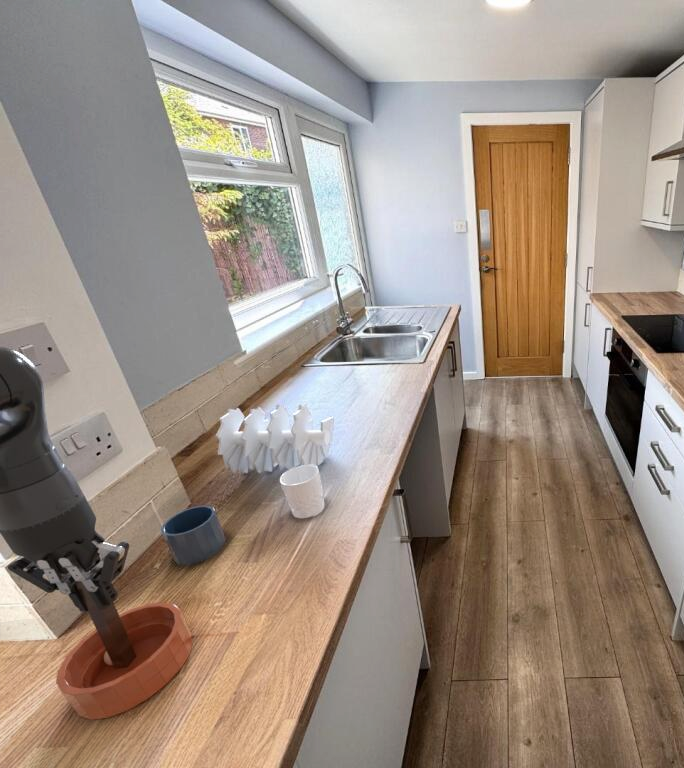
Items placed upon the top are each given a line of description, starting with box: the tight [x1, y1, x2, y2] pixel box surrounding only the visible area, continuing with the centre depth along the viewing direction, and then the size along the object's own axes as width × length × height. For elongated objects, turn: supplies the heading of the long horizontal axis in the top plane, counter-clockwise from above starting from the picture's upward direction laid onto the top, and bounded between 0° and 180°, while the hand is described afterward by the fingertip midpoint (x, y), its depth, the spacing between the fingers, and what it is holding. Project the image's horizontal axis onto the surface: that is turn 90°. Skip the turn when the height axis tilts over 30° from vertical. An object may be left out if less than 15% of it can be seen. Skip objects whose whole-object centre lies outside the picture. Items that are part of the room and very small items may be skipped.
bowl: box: [55, 601, 194, 720], centre depth 60 cm, size 14×14×6 cm
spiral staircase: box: [214, 404, 335, 474], centre depth 108 cm, size 18×18×25 cm
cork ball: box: [104, 651, 113, 665], centre depth 62 cm, size 3×3×3 cm
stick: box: [75, 573, 137, 669], centre depth 58 cm, size 2×2×16 cm
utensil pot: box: [160, 505, 227, 566], centre depth 82 cm, size 9×9×8 cm
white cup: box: [279, 464, 325, 519], centre depth 92 cm, size 8×8×10 cm
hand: (99, 604), depth 57 cm, fingers closed on stick, 2 cm apart
